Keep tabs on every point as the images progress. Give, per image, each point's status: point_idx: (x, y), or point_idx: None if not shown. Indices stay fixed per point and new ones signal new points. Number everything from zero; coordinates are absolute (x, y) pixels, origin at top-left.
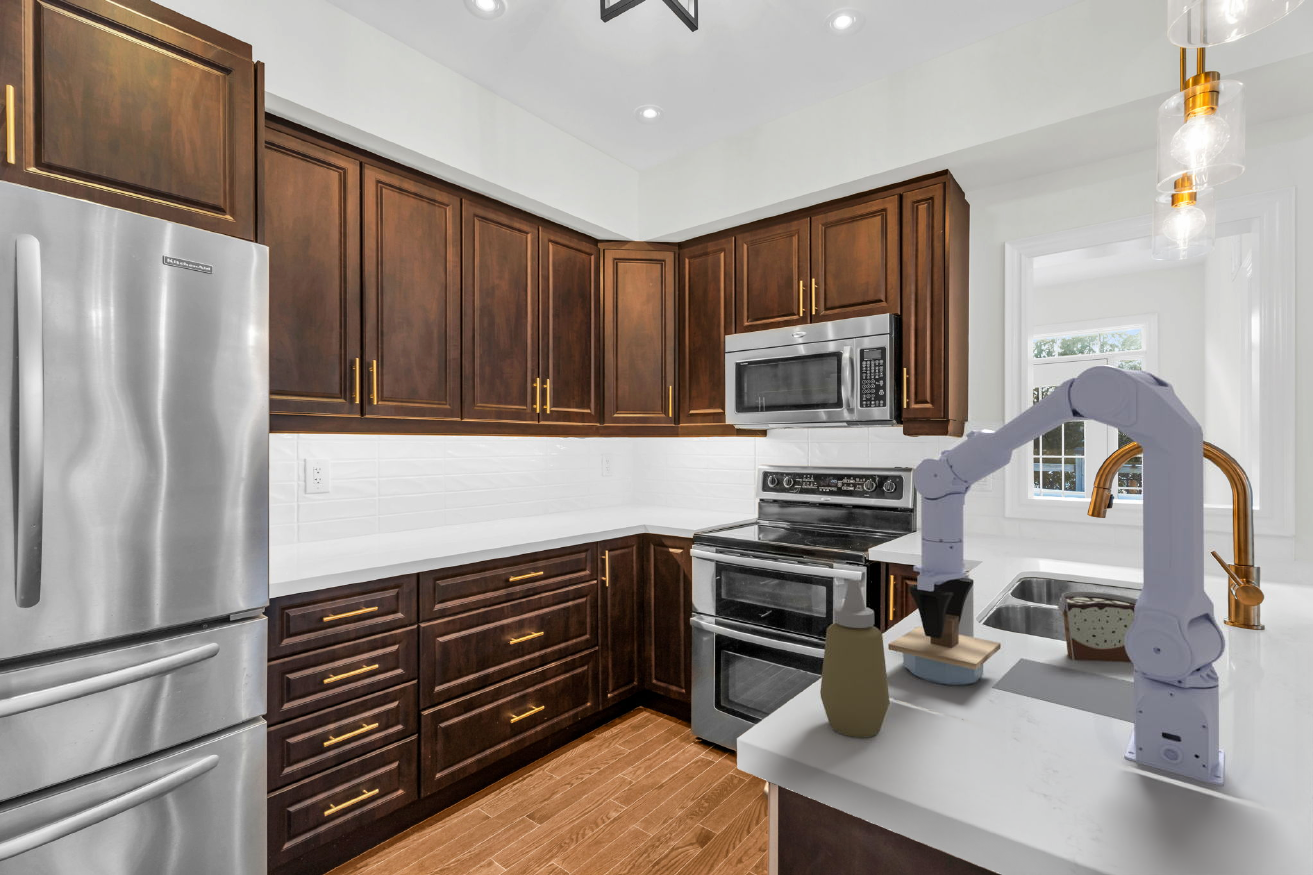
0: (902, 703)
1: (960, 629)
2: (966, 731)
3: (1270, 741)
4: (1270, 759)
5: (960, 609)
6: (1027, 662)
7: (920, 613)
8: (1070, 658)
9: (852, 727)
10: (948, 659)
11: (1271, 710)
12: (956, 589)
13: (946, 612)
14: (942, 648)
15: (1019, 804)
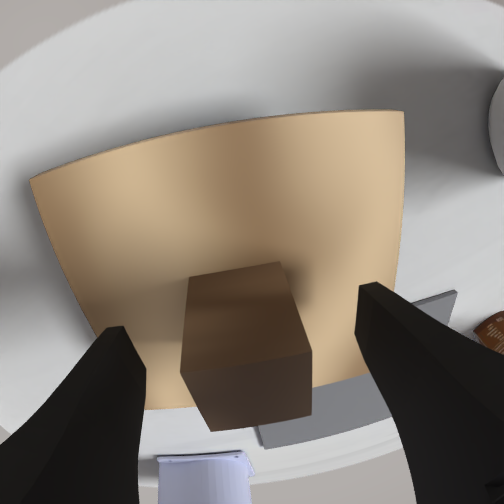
0: (10, 272)
1: None
2: (44, 370)
3: (318, 468)
4: (275, 476)
5: (388, 402)
6: (438, 311)
7: (48, 404)
8: (480, 328)
9: None
10: None
11: (398, 444)
12: (432, 478)
13: (387, 338)
14: (175, 326)
15: (11, 416)
